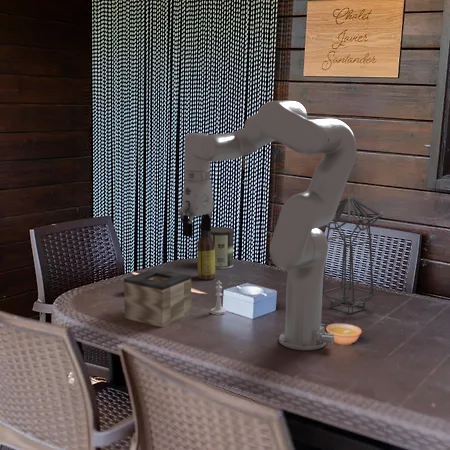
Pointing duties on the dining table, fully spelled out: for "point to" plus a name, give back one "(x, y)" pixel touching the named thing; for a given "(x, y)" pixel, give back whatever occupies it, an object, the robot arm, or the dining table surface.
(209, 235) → the sauce bottle
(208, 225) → the robot arm
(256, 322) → the dining table surface
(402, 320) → the dining table surface
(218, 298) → the chess piece
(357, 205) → the geometric lantern
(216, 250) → the coffee can
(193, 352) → the dining table surface
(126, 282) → the socket
